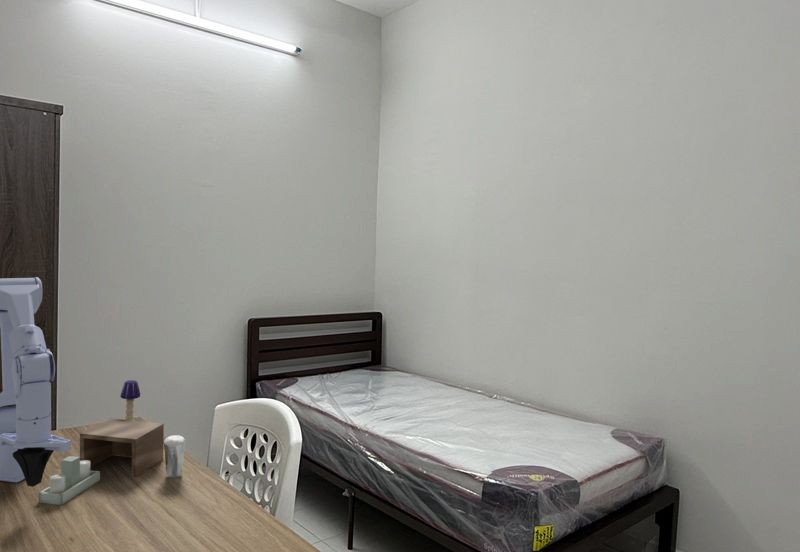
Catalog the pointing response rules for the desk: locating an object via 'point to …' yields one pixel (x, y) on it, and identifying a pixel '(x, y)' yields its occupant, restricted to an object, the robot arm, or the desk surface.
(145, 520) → the desk surface
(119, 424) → the brown open box
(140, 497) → the desk surface
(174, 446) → the milkshake
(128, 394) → the toy lamp
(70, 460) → the caddy
